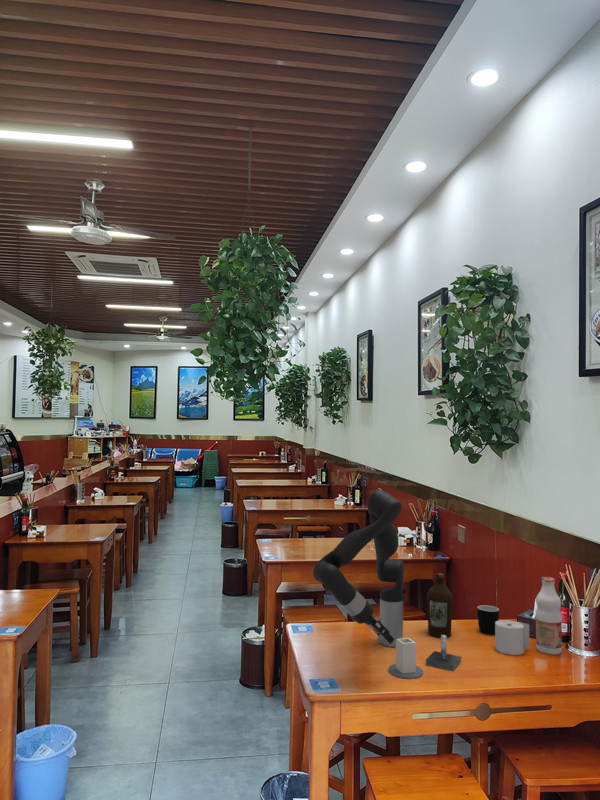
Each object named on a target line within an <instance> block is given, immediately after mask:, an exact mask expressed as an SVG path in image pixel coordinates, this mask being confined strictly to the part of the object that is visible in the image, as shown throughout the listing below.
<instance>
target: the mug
mask: <svg viewBox="0 0 600 800" xmlns="http://www.w3.org/2000/svg"><path fill="white" fill-rule="evenodd" d="M476 611H477V612H476V613H477V623H478V628H479V631H480V633H481V634H484V635H488V634H490V635H492V634H494V635H495V622H496V621H499V620H500V609H499V608H498V607H496V606H493V605H485V604H484V605H478V606H477V610H476ZM490 635H489V636H490ZM492 636H493V635H492Z"/></svg>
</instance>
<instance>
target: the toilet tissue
mask: <svg viewBox="0 0 600 800" xmlns="http://www.w3.org/2000/svg"><path fill="white" fill-rule="evenodd" d="M494 635H495V637H494V646H495V647H494V649H495V650H496V651H497V652H499V653H501V654H505V655H509V656H521V655H523V654H525V649H528V650H529V649H530V624H529V623H525V622H521V621H514V620H508V619H506V620H505V619H504V620H503V619H501V620H500V619H499V621H496V622H495V634H494Z"/></svg>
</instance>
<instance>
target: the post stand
mask: <svg viewBox="0 0 600 800" xmlns="http://www.w3.org/2000/svg"><path fill="white" fill-rule="evenodd" d="M447 639H448V637H447V636H446V635H441V638H440V651H433V652H431V654H430V655H429V656H427V658H426V659H425V666H429V667H433V668H437V669H442V670H446V669H447V671H450V670H451V672H455V670H456V669H457V667H458V666H459V665H460V664H461V663H462V656H460V655H455V654H450V653H447V651H448V650H447V645H448V644H447Z"/></svg>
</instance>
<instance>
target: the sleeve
mask: <svg viewBox="0 0 600 800" xmlns="http://www.w3.org/2000/svg"><path fill="white" fill-rule="evenodd" d="M416 650H417V642H415V641H414V640H413V639H411V638H410V637H403V638H402V639H396V647H395V664H396V669H398V670H399V671H400V672H402V673H403V674H404V673H412V672H416V666H417V660H416V659H417V654H416V653H417V651H416Z"/></svg>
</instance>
